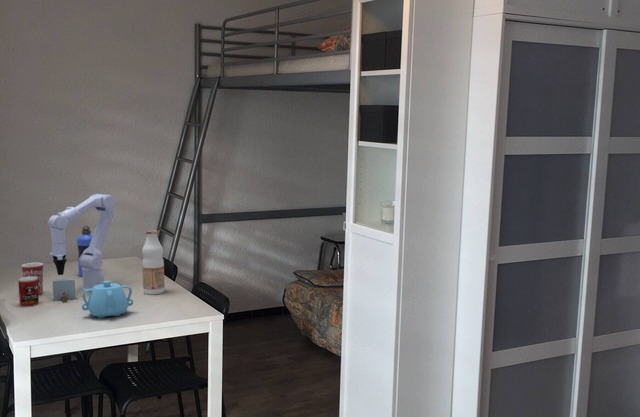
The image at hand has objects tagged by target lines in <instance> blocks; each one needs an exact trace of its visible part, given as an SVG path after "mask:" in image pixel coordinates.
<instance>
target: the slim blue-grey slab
mask: <svg viewBox="0 0 640 417" xmlns="http://www.w3.org/2000/svg"><path fill="white" fill-rule="evenodd" d="M52 292H53V293H52V296H53V297H52V298H53V302H57V301H62V293H65V292H66V293H67V300H76V296H77V295H76V279H75V278H65V279H64V278H63V279H53V280H52Z"/></svg>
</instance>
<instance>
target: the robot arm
mask: <svg viewBox="0 0 640 417" xmlns="http://www.w3.org/2000/svg"><path fill="white" fill-rule="evenodd" d="M115 205H116V201H115V199H114V197H113V196H112V195H111V194H103V193H102V194H100V193H94V194H92V195H90V196H89V198H87V199H85V200H84V201H83V202H81V203H79V204H78V205H77V206H75V207H73V206H67V207H66V208H65V210H63V211H59V212H58V213H57V215H56V214H55V215H54V214H53V215H51V216H50V218H48V222H47V226H48V227H49V229H50V233H51V235H50V236H51V237H50V238H51V252H49V256H52V258H53V259H52V261H53V263H54V265H55V268H56V273H57V275H58V276H64V274H65V265H66V263H67V260H68V259H67V257H66V256H67V254H68V253H67V245H66V244H67V243H66V228H67V226H68V224H70V223H71V222H73V221H75V220H77V219H78V218H79V216H80V214H81V213H84V212H86V211H88V210H89V209H92V208H94V209H95V210H96V211H97V212H98V213H99V217H98V218H99V219H98V221H97V224H96V226H95V229H94V232H93V234H92V236H93V237H92V240H91V242H90V245H89V247H88V248H87V249H86V250H84V252H83V254H82V255H81V256H80V258H79V265H80V266H81V267H82V273H83V277H82V286H81V289H82V291H83V292H84V291H85V290H86V289H92V288H93V286H95V285H100V284H103V281H105V275H104V274H105V273H104V268H101V267H102V265H103V260H102V259H103V257H104V256H103V253H102V248H103V245H104V243H105V239H106V237H107V234H108V231H109V228H110V226H111V223H112V220H113V218H114V212H115V211H114V210H115V209H114V208H115Z"/></svg>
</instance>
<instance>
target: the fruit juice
mask: <svg viewBox="0 0 640 417" xmlns="http://www.w3.org/2000/svg"><path fill="white" fill-rule="evenodd" d="M145 234H146V238H145V242H144V244H143V247H142V249H141V253H142V256H143V257H142V262H141V264H142V266H141V268H142V288H143V290H142V291H143V293H144V294H145V295H151V296H152V295H159V294H163V293H165V289H166V286H165V263H164V262H165V261H164V258H163V254H164V248H163V246H162V244H161V243H160V240H159V239H160V238H158V234H159V232H158V230H156V229H151V230H149V229H148V230H146V232H145Z"/></svg>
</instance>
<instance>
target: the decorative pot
mask: <svg viewBox="0 0 640 417" xmlns="http://www.w3.org/2000/svg"><path fill="white" fill-rule="evenodd" d="M124 289H128V295H127V294H126V293H125V290H124ZM87 292H90V293H89V295H88V299H86V298H87V297H86V293H87ZM132 293H133V289H132V287H131V286H130V285H127V284H123V285H121V284H120V283H116V282H115V283H114V282H113V283H112V280H104V281H103V284H100V285H95V286H93V288H92V289H86V290H85V291H83V292H82V294H81V297H82V300H83V302H84V303H83V304H81V309H82V311H88V312H89V313H90V314H91V315H92V316H94V317H97V318H98V319H103V318H105V317H110V316H114V317H121V316H122V315H123V314H124V313H126V311H127V310H128V308H129V307H131V306H132V305H134V300H133V298H132V295H133V294H132ZM131 298H132V299H131ZM85 306H86V307H85Z"/></svg>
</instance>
